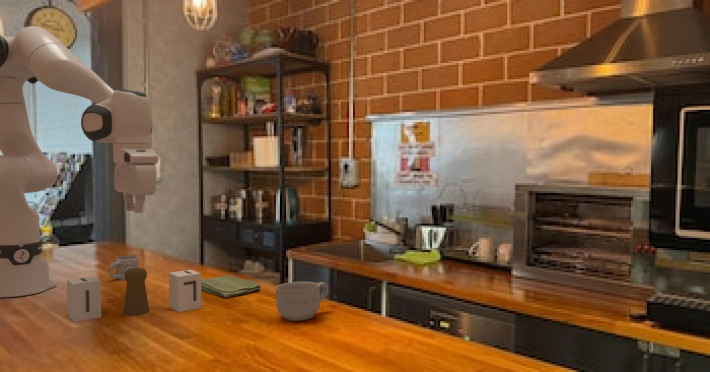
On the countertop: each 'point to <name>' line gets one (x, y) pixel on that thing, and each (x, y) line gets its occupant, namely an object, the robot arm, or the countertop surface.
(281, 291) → the teacup
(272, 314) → the countertop surface
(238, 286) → the washcloth
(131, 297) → the dark brown tapered piece
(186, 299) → the cream marked block
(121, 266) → the mug
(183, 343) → the countertop surface
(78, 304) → the grey marked block
